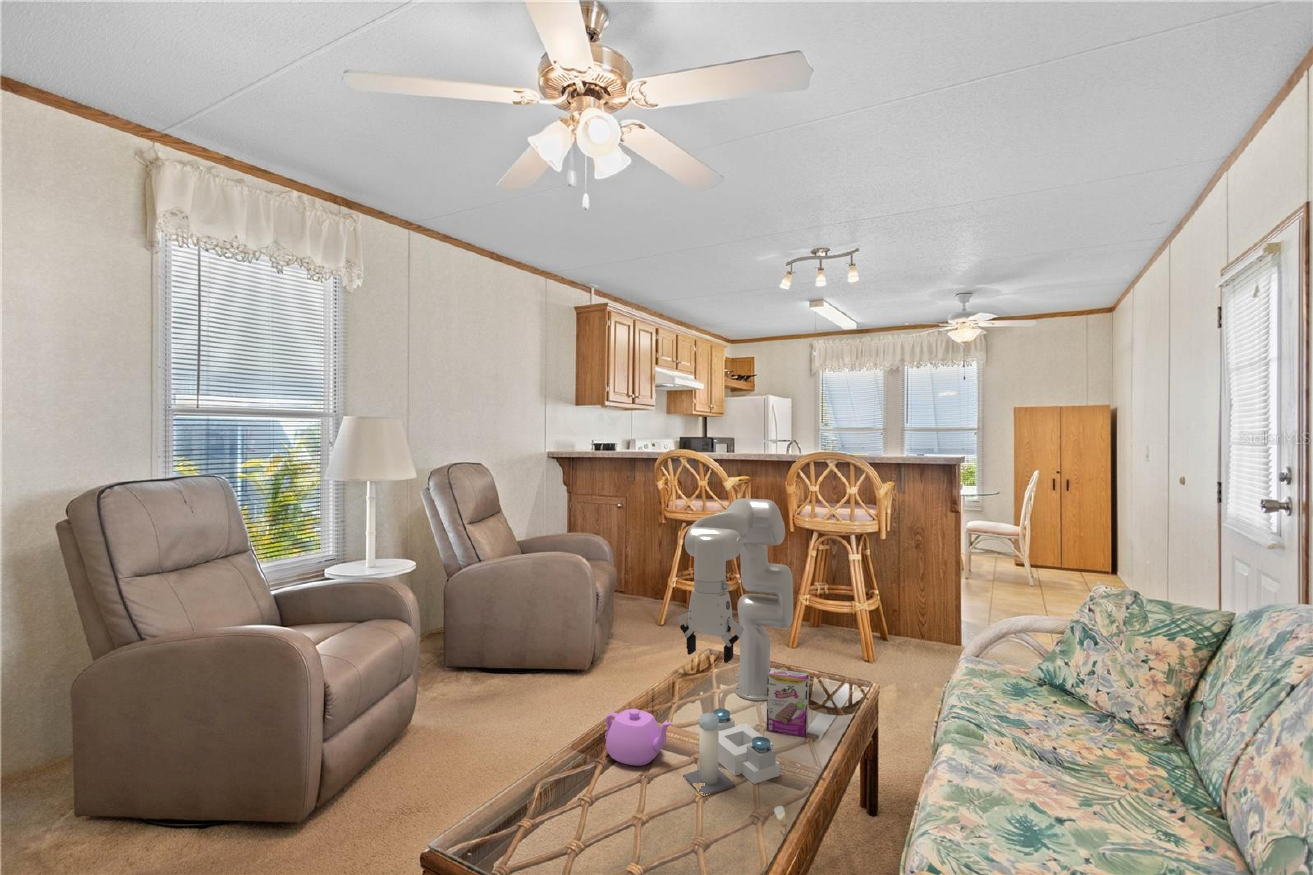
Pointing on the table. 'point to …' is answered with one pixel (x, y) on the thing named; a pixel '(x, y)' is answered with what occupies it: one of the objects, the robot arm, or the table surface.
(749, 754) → the housing
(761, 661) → the robot arm
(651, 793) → the table surface
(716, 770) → the cylinder
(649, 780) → the table surface
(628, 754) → the teapot
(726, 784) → the mat
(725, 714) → the plunger
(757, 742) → the plunger
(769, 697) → the candy bar box
